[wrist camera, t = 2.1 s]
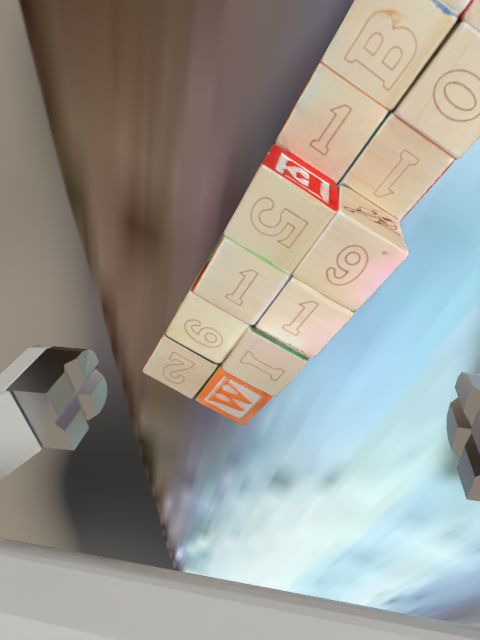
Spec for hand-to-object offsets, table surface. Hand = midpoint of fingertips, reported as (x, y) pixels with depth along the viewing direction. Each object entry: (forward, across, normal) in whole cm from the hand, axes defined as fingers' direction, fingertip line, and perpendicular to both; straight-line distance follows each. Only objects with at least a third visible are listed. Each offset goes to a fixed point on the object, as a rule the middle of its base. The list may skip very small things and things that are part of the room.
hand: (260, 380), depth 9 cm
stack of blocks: (+19, -1, -1) cm, 19 cm away
